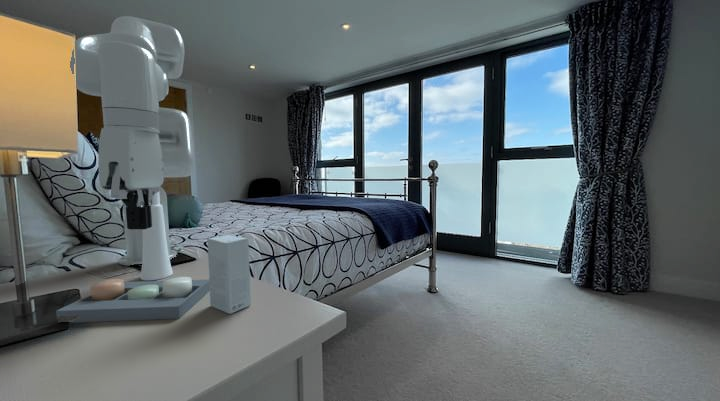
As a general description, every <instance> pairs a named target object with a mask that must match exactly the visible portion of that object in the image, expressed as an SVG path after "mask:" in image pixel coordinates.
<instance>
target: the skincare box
mask: <svg viewBox="0 0 720 401" xmlns="http://www.w3.org/2000/svg"><path fill="white" fill-rule="evenodd" d="M249 251H250V250H249V238H247V237H240V236H235V235H231V234H228V235H227V234H226V235H221V236H216V237H209V238H207V257H208V258H207V259H208V260H207V262H208V280H209V284H210V291H209V301H210V306H211V307H213V308H215V309H217V310H220V311H222V312H224V313H226V314H228V315H231V314H234V313H236V312H238V311H240V310H243V309H245V308H248V307H250V306H251V304H252V300H251V298H252V297H251V276H250V271H251V270H250V252H249Z"/></svg>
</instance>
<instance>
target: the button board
mask: <svg viewBox="0 0 720 401" xmlns="http://www.w3.org/2000/svg"><path fill="white" fill-rule="evenodd" d="M164 281H165V280H151V281H145V280H143V281H124V290H125V294H124V295H122V296H120V297H118V298H116V299H113V300H108V301H92V298H91V293H90V294H89V295H86V296H84V297H82V298H80V299H78V300H75V301H73V302H72V303H70V304H68V305H65V306H63V307H61V308H59V309H57V310H56V311H55V313H56V318H57V317H60V316H78V317H79V318H77V319H75V320H73V321H71V322H70V323H69V324H75V323H79V324H80V323H99V322H125V321H126V322H127V321H129V322H130V321H151V320H153V321H155V320H171V319H172V320H175V319H176V320H177V319H181V318H182V316H184V315H185V314H186V313H187V312H188V311H189V310H190V309H191V308H192V307H194V306H195V305H196V304H197V303H198V302H199V301H200V300H201V299H202V298H204V297H205V296H206V295H207V294H208V293H210V284H209V279H192V293H191V294H190V295H188V296H186V297H183V298H165V299H164V298H163V285H162V283H163V282H164ZM143 285H158V288H159V293H158V294H157V295H155V296H154V297H152V298H151V299H137V300H128V294H127V292H128V291H129V290H130V289H133V288H135V287H139V286H143Z"/></svg>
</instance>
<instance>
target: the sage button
mask: <svg viewBox="0 0 720 401" xmlns="http://www.w3.org/2000/svg"><path fill="white" fill-rule="evenodd" d="M158 293H159V288H158V285H143V286H139V287H135V288H133V289H130V290H129V291H128V292H127V294H128V300H137V299H151V298H152V297H154V296H155V295H157V294H158Z"/></svg>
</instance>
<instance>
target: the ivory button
mask: <svg viewBox="0 0 720 401" xmlns="http://www.w3.org/2000/svg"><path fill="white" fill-rule="evenodd" d="M192 280H193V279H192V277H190V276H177V277H173V278H169V279H167V280H163V281H164V282H163V283H162V285H163V298H164V299H165V298H186V296H188V295H190V294H191V293H192Z"/></svg>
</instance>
